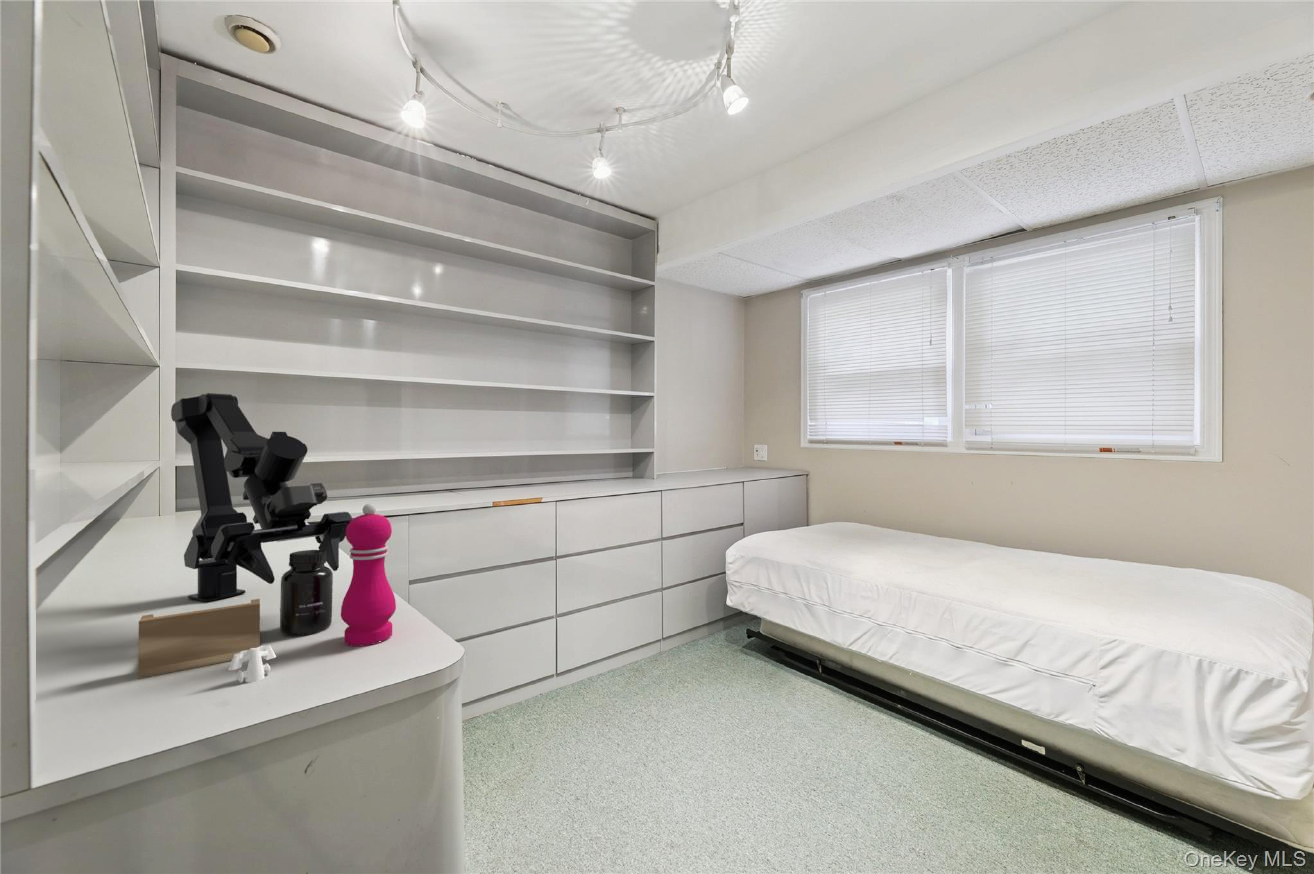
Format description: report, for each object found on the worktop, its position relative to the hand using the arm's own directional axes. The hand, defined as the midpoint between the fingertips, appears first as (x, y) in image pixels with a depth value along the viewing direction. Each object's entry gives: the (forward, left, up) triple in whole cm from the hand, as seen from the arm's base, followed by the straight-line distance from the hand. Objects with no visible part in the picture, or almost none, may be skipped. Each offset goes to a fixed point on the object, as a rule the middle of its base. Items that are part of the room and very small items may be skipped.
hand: (306, 575), depth 83 cm
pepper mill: (+13, +1, -9) cm, 15 cm away
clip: (+12, -14, -9) cm, 20 cm away
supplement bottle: (0, 0, -9) cm, 9 cm away
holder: (-4, -12, -8) cm, 15 cm away
